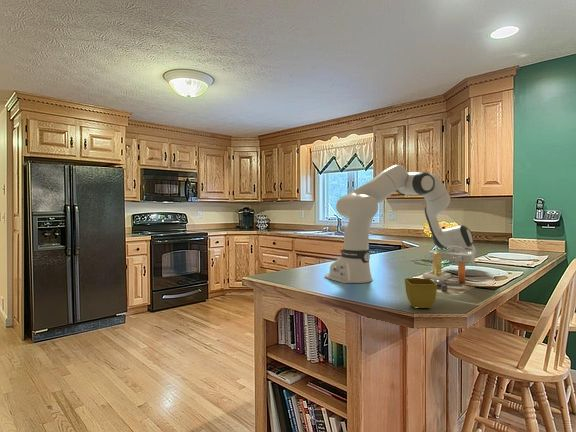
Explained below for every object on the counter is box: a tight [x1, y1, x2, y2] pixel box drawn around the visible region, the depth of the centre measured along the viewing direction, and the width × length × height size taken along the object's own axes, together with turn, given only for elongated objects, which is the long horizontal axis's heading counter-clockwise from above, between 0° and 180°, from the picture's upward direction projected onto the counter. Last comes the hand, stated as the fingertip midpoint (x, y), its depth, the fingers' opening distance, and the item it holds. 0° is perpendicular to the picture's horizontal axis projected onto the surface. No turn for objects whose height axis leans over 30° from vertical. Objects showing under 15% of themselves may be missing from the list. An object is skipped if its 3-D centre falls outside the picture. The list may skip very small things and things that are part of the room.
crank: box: [433, 262, 466, 287], centre depth 144 cm, size 12×5×9 cm, turn 68°
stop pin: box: [432, 253, 442, 276], centre depth 163 cm, size 4×4×11 cm
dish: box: [422, 270, 452, 281], centre depth 163 cm, size 9×9×2 cm
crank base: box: [431, 279, 476, 296], centre depth 145 cm, size 18×17×3 cm
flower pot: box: [404, 277, 437, 309], centre depth 122 cm, size 9×9×9 cm
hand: (443, 258), depth 167 cm, fingers open, 8 cm apart
